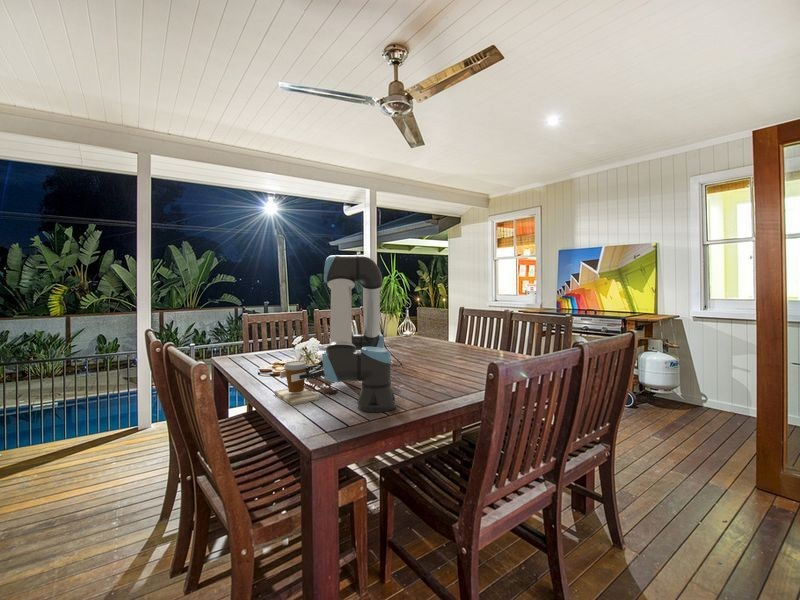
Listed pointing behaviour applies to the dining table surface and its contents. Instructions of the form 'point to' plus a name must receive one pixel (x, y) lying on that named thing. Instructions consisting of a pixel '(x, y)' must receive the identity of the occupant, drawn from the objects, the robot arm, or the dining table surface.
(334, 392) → the dining table surface
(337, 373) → the robot arm
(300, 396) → the serving board
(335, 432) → the dining table surface
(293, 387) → the disposable coffee cup
